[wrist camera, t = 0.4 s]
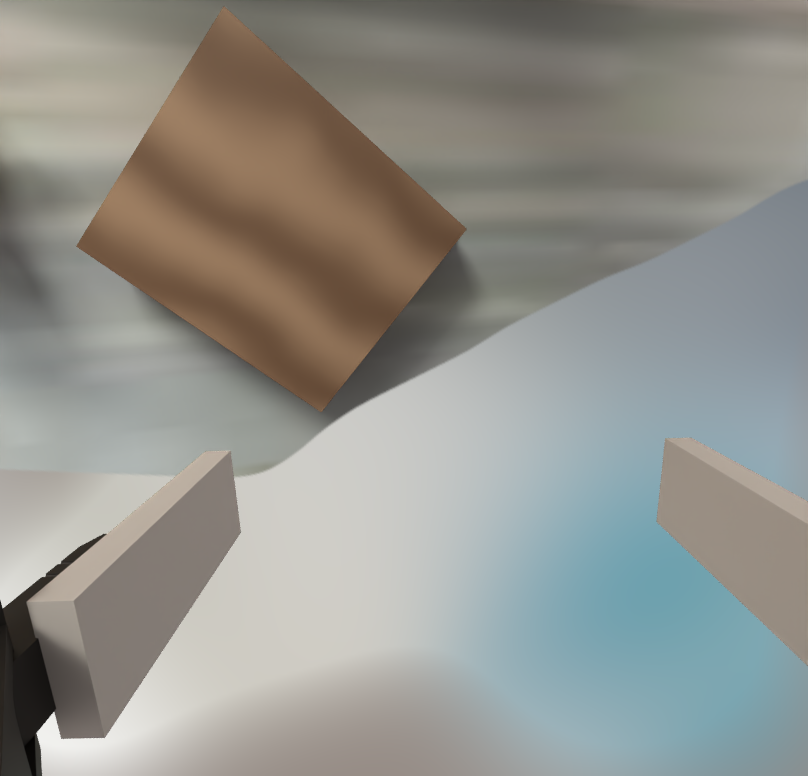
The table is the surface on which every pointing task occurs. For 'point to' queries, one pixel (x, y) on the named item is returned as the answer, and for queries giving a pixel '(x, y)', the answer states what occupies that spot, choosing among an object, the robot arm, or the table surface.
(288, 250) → the walnut block
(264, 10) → the table surface
